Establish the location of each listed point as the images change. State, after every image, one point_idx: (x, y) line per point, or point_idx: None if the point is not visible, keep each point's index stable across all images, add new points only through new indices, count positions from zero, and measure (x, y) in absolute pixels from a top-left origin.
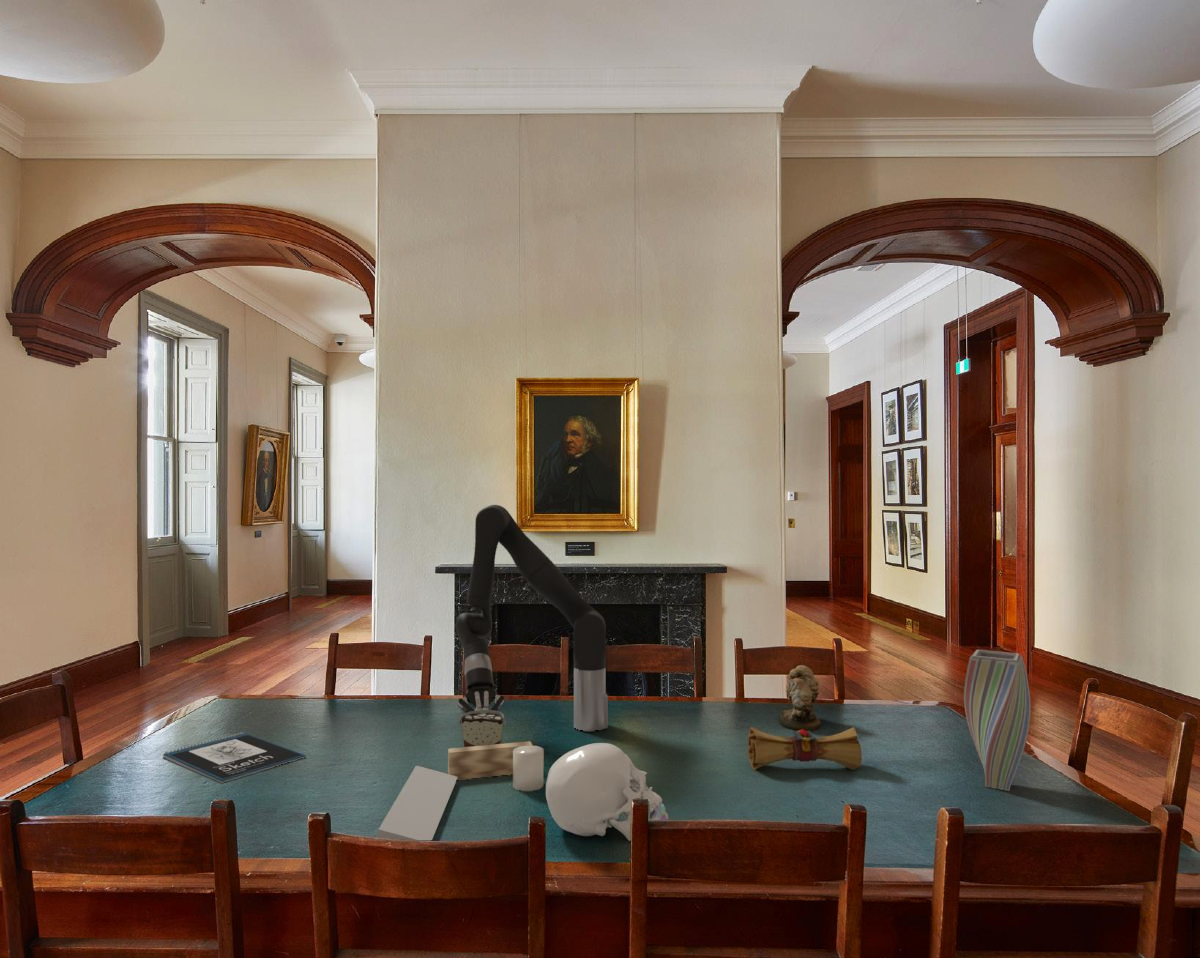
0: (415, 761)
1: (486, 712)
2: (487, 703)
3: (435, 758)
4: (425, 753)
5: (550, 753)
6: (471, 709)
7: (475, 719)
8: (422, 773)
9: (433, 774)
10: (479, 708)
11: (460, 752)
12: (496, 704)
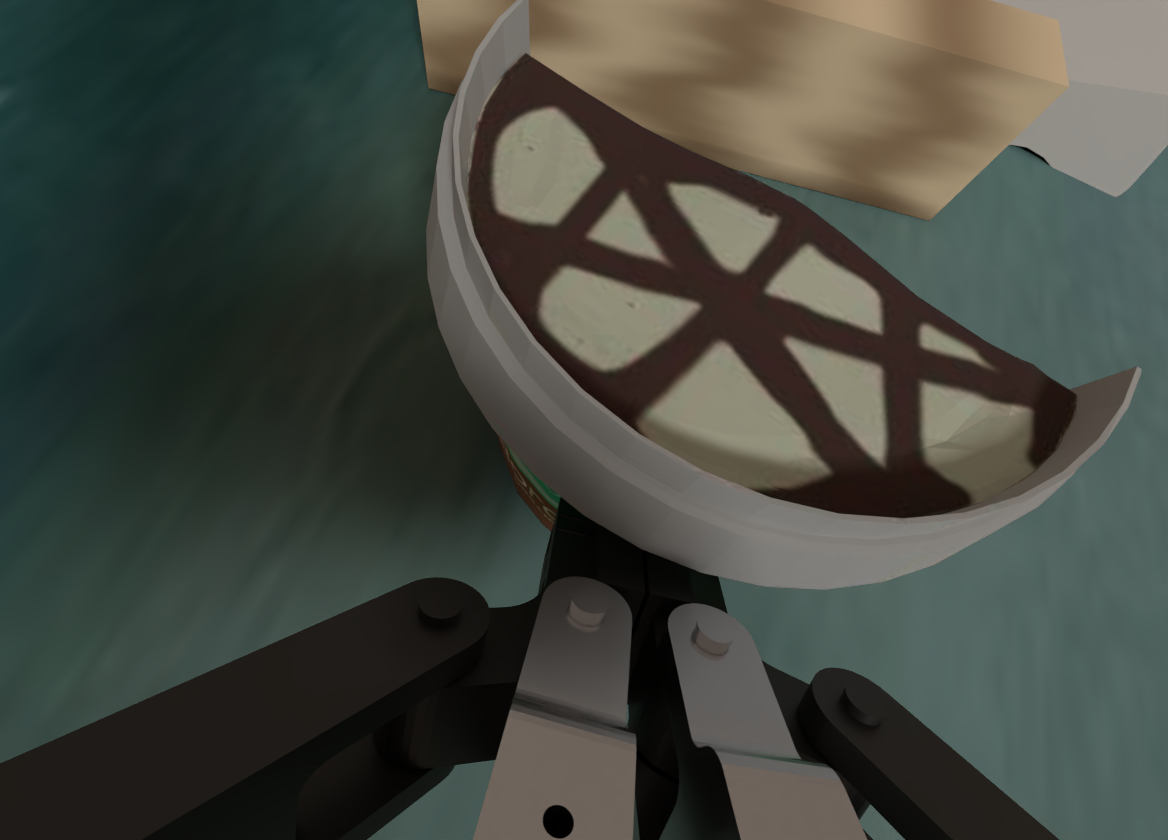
0: (1133, 545)
1: (641, 456)
2: (529, 766)
3: (994, 537)
4: (1073, 709)
5: (143, 200)
6: (921, 776)
7: (878, 268)
8: (1142, 34)
9: (1070, 42)
10: (735, 747)
11: (977, 3)
12: (247, 725)
